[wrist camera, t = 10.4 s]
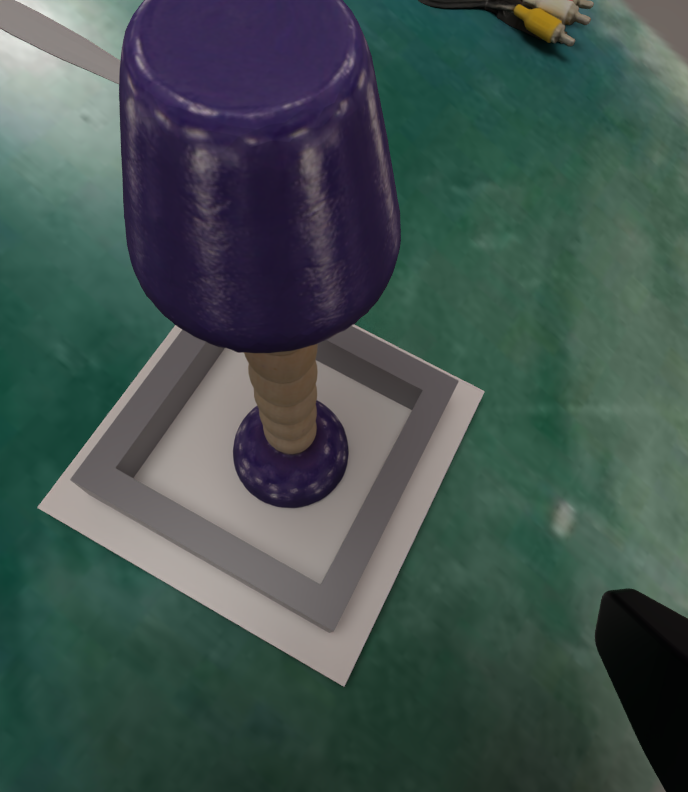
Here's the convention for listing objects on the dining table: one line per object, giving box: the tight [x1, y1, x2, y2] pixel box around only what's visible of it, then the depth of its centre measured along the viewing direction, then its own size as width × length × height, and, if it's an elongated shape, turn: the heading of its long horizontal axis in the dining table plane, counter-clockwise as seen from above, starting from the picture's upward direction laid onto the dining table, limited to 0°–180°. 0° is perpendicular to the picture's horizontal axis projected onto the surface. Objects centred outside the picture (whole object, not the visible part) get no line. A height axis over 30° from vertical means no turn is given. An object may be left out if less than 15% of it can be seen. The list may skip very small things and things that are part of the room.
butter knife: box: [0, 0, 121, 84], centre depth 30 cm, size 1×27×3 cm
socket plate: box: [37, 325, 485, 686], centre depth 22 cm, size 12×12×3 cm
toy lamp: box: [119, 0, 401, 508], centre depth 15 cm, size 5×5×17 cm
